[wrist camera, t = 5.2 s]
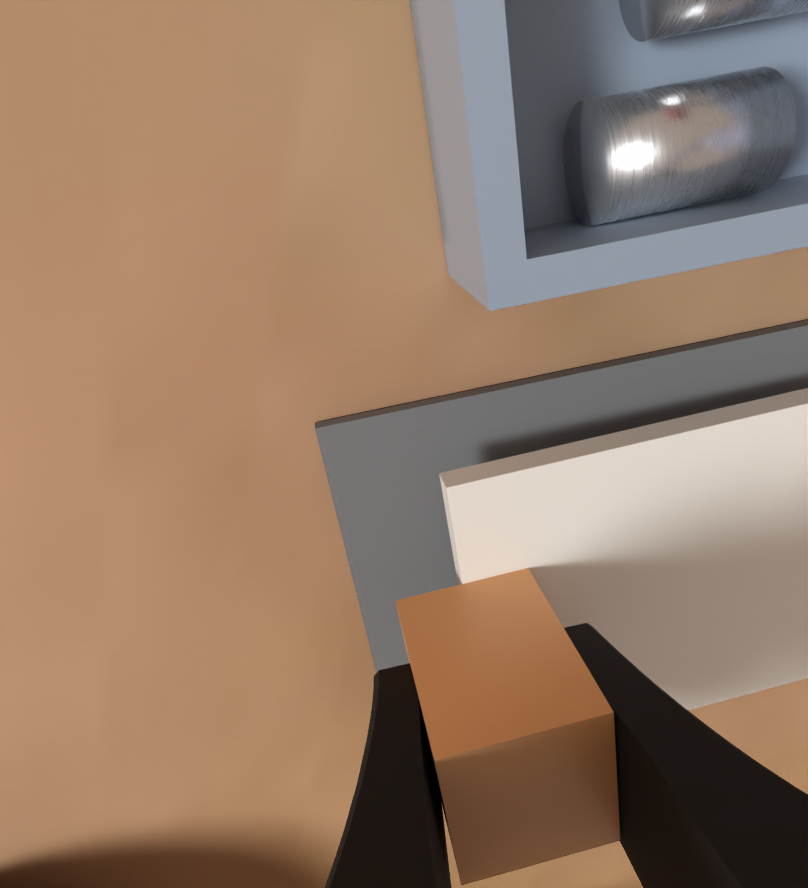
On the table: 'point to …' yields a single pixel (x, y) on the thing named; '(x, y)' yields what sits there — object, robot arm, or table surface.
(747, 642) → the lid
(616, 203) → the dowel
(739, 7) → the dowel
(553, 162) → the tub
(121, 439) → the table surface
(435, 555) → the mat
